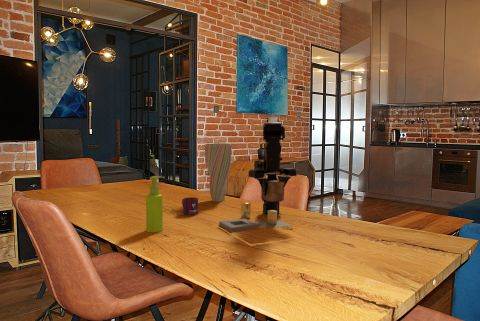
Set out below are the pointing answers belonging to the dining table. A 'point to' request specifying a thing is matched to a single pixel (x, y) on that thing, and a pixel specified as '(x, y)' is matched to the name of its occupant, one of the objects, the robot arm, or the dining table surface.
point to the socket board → (238, 225)
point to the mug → (190, 206)
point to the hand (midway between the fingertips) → (272, 194)
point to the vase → (218, 168)
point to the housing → (274, 191)
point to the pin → (245, 210)
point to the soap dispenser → (154, 208)
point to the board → (279, 224)
